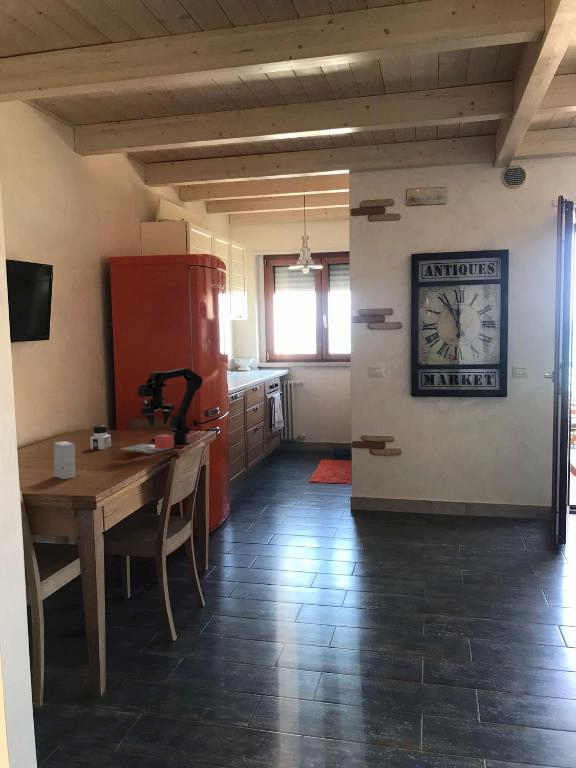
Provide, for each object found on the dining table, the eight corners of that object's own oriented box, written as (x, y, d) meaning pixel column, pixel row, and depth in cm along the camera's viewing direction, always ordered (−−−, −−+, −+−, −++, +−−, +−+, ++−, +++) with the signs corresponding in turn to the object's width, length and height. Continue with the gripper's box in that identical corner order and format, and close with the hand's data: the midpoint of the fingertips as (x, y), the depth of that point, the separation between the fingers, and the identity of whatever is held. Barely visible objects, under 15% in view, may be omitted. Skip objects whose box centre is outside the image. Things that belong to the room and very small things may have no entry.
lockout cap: (164, 445, 324) (163, 434, 323) (173, 446, 320) (173, 435, 319) (155, 447, 319) (154, 436, 318) (165, 448, 315) (164, 437, 314)
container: (104, 452, 318) (103, 427, 317) (90, 451, 320) (89, 426, 318) (111, 449, 326) (110, 424, 324) (97, 448, 327) (96, 424, 326)
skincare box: (53, 476, 268) (51, 442, 266) (66, 474, 272) (64, 440, 271) (64, 479, 262) (62, 444, 261) (77, 476, 267) (75, 442, 265)
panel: (143, 446, 332) (143, 442, 332) (172, 450, 319) (172, 446, 319) (119, 451, 319) (119, 447, 319) (149, 456, 306) (149, 452, 306)
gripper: (159, 393, 336) (160, 421, 337) (133, 396, 321) (134, 426, 322) (174, 394, 330) (175, 423, 331) (147, 398, 314) (149, 428, 316)
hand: (158, 425), depth 325 cm, fingers open, 9 cm apart
